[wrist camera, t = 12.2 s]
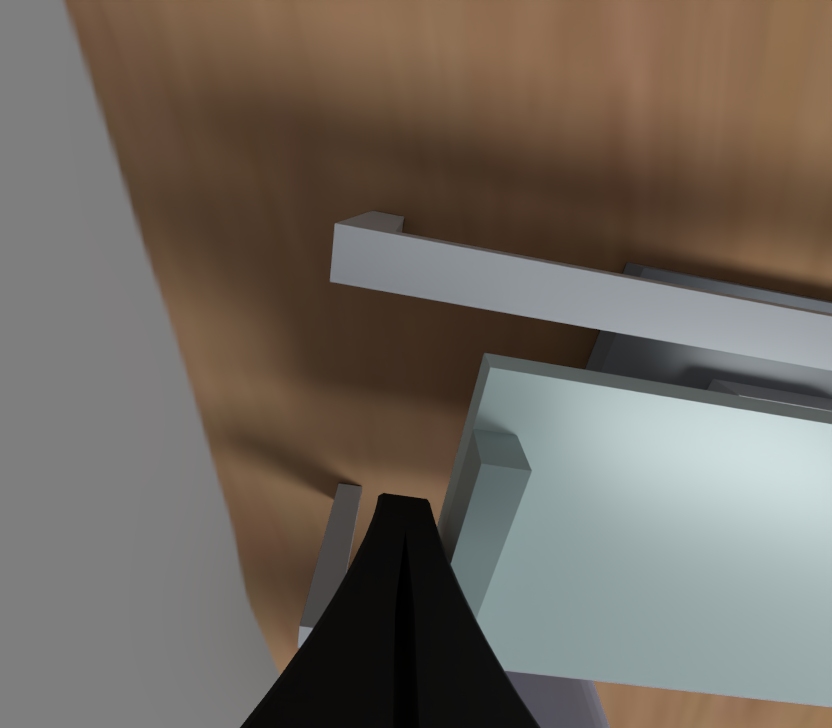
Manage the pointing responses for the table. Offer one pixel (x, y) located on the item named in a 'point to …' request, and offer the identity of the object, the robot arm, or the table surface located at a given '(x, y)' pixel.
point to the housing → (616, 343)
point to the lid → (645, 531)
